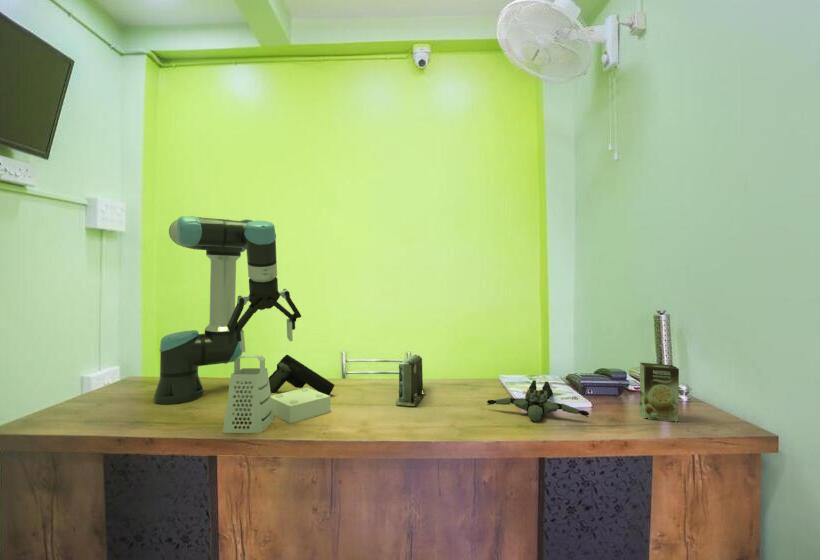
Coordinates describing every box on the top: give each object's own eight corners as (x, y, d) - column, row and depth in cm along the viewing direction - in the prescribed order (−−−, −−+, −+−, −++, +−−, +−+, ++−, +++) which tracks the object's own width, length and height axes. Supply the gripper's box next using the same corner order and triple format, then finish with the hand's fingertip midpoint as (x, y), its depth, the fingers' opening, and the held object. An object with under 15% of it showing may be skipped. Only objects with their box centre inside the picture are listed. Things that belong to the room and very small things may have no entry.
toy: (498, 390, 147) (483, 422, 119) (498, 369, 147) (482, 396, 119) (585, 400, 136) (590, 438, 108) (585, 377, 135) (590, 408, 107)
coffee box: (643, 419, 117) (643, 366, 117) (638, 412, 123) (638, 362, 123) (679, 422, 114) (679, 368, 114) (672, 415, 120) (672, 364, 120)
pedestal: (268, 412, 122) (268, 395, 122) (306, 402, 133) (306, 386, 133) (290, 423, 113) (290, 405, 113) (330, 411, 123) (330, 395, 123)
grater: (260, 432, 106) (260, 360, 106) (222, 432, 106) (222, 360, 106) (274, 419, 116) (274, 353, 116) (239, 418, 116) (240, 353, 116)
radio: (411, 387, 151) (411, 349, 151) (433, 389, 148) (433, 351, 148) (390, 405, 129) (390, 361, 129) (414, 408, 126) (414, 363, 126)
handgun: (314, 421, 140) (332, 386, 138) (261, 385, 144) (279, 351, 143) (317, 418, 142) (335, 384, 141) (265, 384, 146) (282, 350, 145)
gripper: (216, 288, 97) (224, 361, 104) (311, 275, 111) (312, 340, 118) (211, 279, 103) (218, 348, 110) (302, 268, 117) (303, 330, 124)
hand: (267, 344), depth 114 cm, fingers open, 13 cm apart
